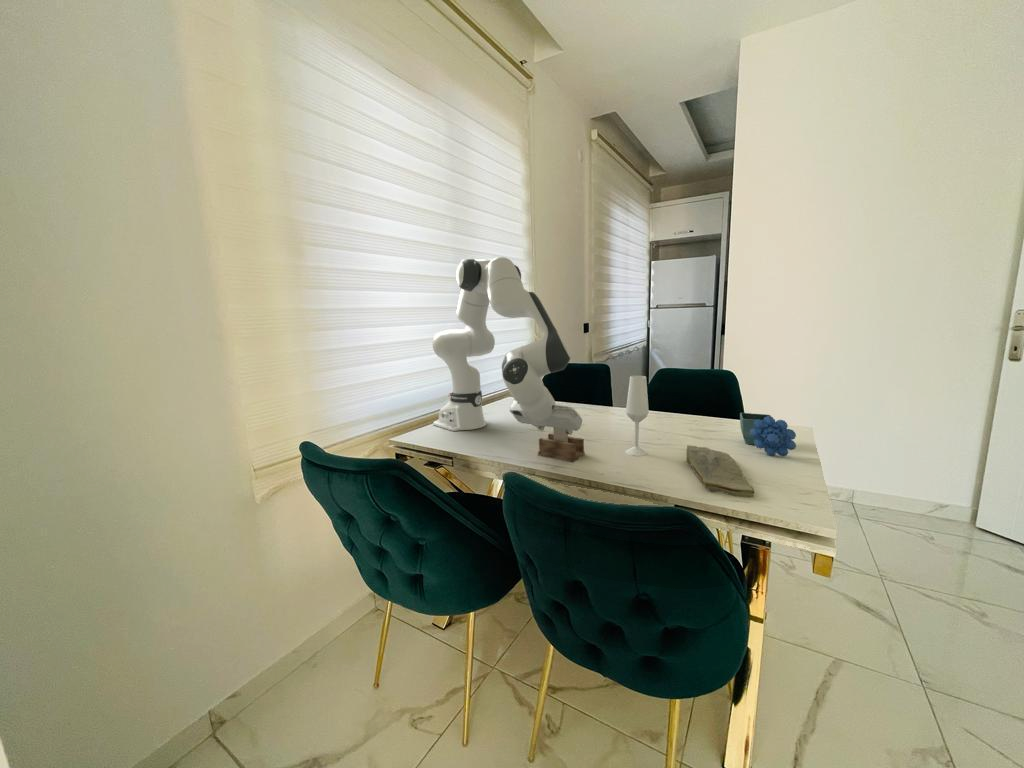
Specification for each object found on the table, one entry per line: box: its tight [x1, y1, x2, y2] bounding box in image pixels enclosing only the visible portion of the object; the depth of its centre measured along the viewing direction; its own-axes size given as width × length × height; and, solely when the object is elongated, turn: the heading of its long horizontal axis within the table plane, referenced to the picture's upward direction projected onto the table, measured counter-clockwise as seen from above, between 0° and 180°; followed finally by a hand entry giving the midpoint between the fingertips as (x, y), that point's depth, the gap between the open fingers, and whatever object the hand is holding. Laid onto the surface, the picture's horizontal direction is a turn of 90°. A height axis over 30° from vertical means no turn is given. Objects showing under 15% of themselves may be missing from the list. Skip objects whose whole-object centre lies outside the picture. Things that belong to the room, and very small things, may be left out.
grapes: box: [750, 416, 797, 457], centre depth 115 cm, size 12×7×12 cm, turn 59°
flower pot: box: [739, 412, 772, 446], centre depth 128 cm, size 9×9×9 cm
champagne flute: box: [625, 375, 650, 457], centre depth 121 cm, size 7×7×24 cm
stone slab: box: [685, 444, 755, 498], centre depth 106 cm, size 12×4×30 cm
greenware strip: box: [552, 427, 569, 443], centre depth 122 cm, size 4×3×10 cm
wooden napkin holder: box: [537, 433, 585, 463], centre depth 123 cm, size 12×8×5 cm, turn 55°
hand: (555, 430), depth 118 cm, fingers open, 8 cm apart
